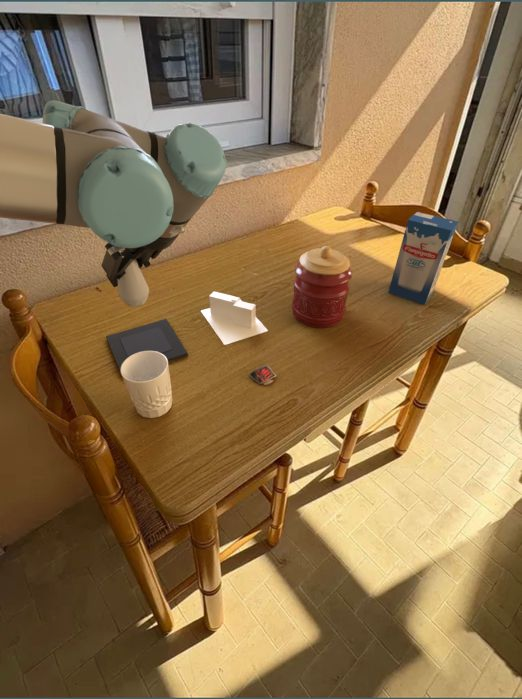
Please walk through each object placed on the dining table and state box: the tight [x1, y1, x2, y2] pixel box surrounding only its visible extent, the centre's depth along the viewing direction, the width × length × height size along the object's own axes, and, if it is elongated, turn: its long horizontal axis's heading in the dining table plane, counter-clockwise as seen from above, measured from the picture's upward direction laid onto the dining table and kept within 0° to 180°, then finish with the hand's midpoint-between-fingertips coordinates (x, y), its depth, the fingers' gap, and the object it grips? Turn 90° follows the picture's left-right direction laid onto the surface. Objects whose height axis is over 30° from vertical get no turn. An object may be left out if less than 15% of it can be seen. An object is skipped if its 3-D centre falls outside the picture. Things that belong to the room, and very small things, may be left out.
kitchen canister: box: [291, 245, 353, 328], centre depth 88 cm, size 13×13×18 cm
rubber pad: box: [105, 318, 189, 374], centre depth 83 cm, size 14×14×1 cm
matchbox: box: [249, 364, 277, 386], centre depth 77 cm, size 5×5×1 cm
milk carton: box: [387, 211, 459, 306], centre depth 95 cm, size 10×6×20 cm, turn 54°
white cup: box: [120, 351, 173, 419], centre depth 68 cm, size 8×8×10 cm
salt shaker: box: [117, 259, 150, 308], centre depth 71 cm, size 6×6×13 cm
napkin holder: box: [200, 290, 269, 346], centre depth 90 cm, size 15×11×6 cm
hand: (120, 277), depth 75 cm, fingers closed on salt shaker, 3 cm apart
